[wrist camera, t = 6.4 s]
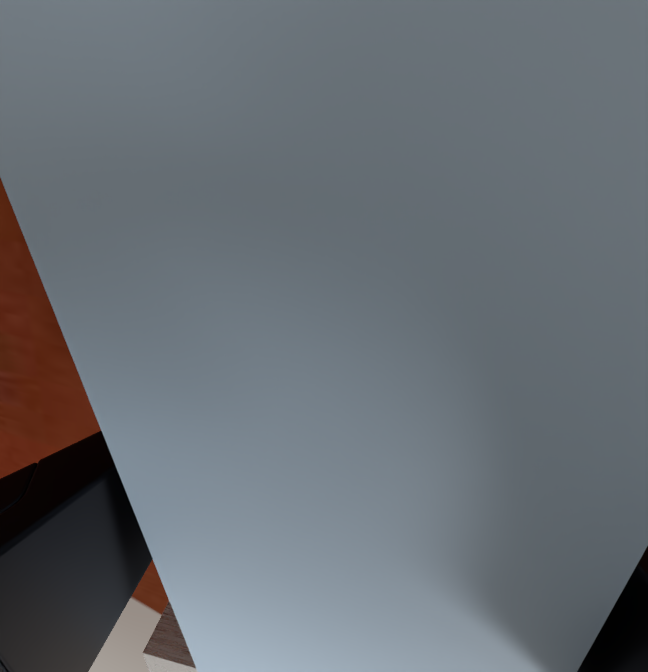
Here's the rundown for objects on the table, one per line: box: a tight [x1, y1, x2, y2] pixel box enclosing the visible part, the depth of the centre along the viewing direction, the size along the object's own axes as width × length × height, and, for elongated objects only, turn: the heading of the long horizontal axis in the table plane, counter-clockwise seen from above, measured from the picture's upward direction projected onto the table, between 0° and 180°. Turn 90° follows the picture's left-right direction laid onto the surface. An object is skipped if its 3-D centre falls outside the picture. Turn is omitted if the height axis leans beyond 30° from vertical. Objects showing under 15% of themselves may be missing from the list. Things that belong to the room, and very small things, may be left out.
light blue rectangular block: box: [0, 0, 648, 672], centre depth 7 cm, size 14×6×4 cm, turn 2°
